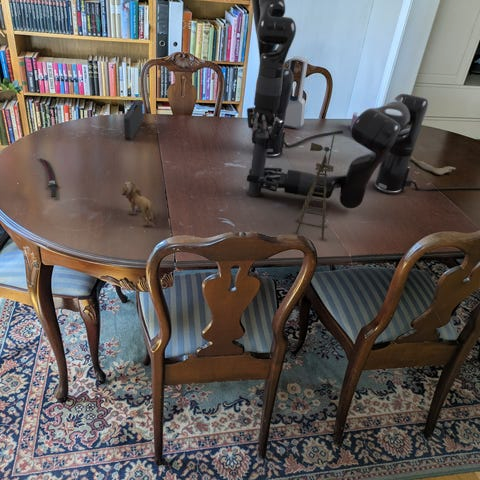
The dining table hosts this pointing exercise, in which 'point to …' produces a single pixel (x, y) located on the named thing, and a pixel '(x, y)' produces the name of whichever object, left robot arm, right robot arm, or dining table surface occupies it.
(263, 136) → the lid
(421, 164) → the jawbone
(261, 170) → the dark grey cylinder
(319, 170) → the miniature windmill
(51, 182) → the sword
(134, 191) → the lion figurine
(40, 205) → the dining table surface
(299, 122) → the electronic device
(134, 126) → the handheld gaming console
